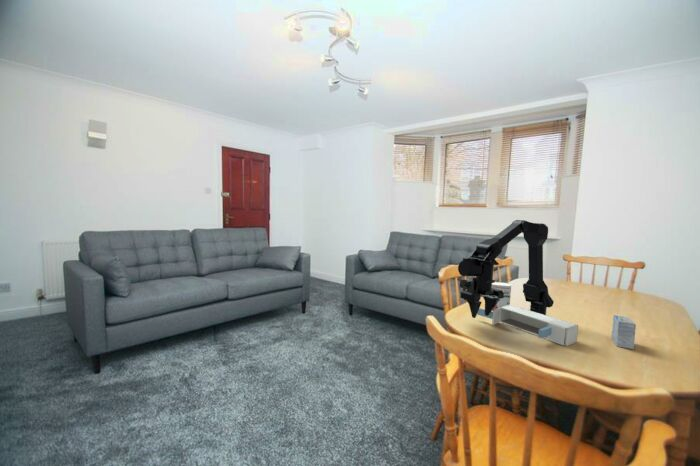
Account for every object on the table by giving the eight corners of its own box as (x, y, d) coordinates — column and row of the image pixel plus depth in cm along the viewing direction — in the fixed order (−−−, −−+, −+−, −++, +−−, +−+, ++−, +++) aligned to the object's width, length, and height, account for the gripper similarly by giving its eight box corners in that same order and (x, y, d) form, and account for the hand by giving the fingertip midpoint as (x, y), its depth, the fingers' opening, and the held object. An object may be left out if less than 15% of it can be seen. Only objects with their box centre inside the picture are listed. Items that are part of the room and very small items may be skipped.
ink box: (488, 309, 134) (490, 283, 133) (487, 306, 139) (488, 281, 138) (509, 312, 132) (511, 285, 131) (507, 308, 136) (509, 283, 136)
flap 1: (499, 322, 118) (500, 308, 118) (493, 324, 115) (494, 310, 115) (483, 317, 123) (483, 303, 123) (476, 319, 120) (477, 305, 120)
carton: (508, 318, 123) (510, 304, 122) (576, 342, 102) (578, 324, 102) (498, 321, 119) (499, 306, 119) (566, 346, 99) (568, 328, 98)
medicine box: (633, 350, 97) (636, 324, 97) (615, 346, 100) (618, 321, 99) (627, 341, 104) (630, 317, 103) (611, 338, 106) (613, 314, 106)
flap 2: (547, 339, 103) (549, 323, 103) (564, 345, 99) (565, 328, 98) (537, 343, 100) (538, 326, 99) (553, 349, 96) (555, 331, 95)
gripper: (480, 271, 125) (477, 307, 126) (450, 272, 115) (446, 312, 116) (506, 276, 115) (502, 316, 116) (475, 279, 106) (471, 322, 107)
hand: (480, 316), depth 114 cm, fingers open, 7 cm apart
